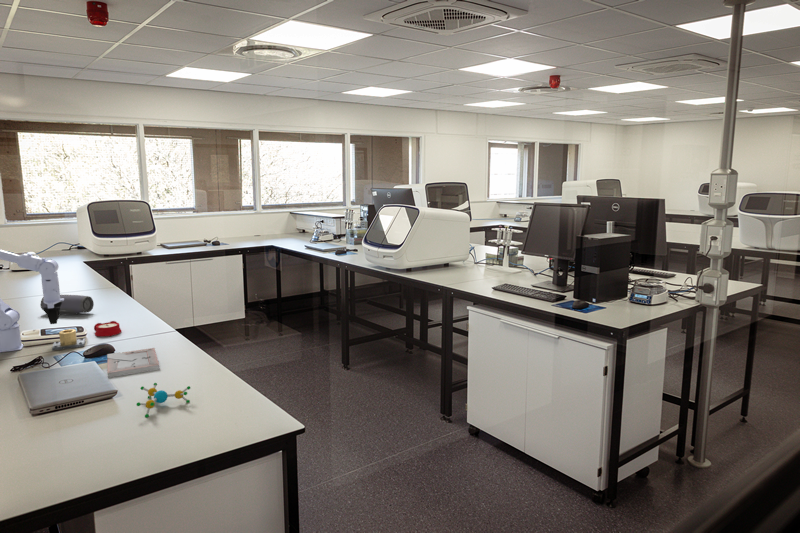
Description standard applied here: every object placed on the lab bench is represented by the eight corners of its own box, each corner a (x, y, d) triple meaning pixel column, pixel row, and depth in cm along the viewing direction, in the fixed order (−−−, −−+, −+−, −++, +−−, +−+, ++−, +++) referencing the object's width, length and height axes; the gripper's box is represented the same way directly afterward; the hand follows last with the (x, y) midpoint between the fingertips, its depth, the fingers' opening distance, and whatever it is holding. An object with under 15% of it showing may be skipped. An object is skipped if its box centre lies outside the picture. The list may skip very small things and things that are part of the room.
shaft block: (52, 350, 206) (50, 337, 205) (54, 344, 213) (52, 332, 212) (84, 346, 211) (82, 333, 210) (85, 341, 218) (83, 328, 217)
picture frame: (107, 360, 198) (108, 379, 179) (107, 354, 197) (107, 372, 179) (154, 353, 206) (159, 370, 187) (154, 347, 205) (159, 364, 187)
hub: (60, 345, 208) (58, 334, 207) (61, 342, 213) (60, 330, 212) (76, 343, 211) (75, 332, 210) (77, 340, 216) (75, 328, 215)
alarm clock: (96, 331, 221) (90, 316, 232) (97, 344, 223) (91, 328, 234) (123, 327, 227) (116, 312, 238) (124, 339, 229) (117, 324, 240)
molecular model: (197, 403, 160) (173, 390, 169) (195, 388, 159) (172, 376, 168) (143, 421, 147) (121, 407, 157) (142, 405, 147) (119, 391, 156)
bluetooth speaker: (95, 312, 265) (93, 293, 263) (82, 317, 256) (80, 297, 254) (54, 310, 267) (52, 292, 266) (40, 315, 258) (38, 296, 256)
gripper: (60, 291, 206) (64, 324, 208) (64, 285, 218) (67, 316, 221) (39, 293, 202) (43, 326, 205) (44, 286, 215) (48, 318, 217)
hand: (54, 321), depth 212 cm, fingers open, 7 cm apart
